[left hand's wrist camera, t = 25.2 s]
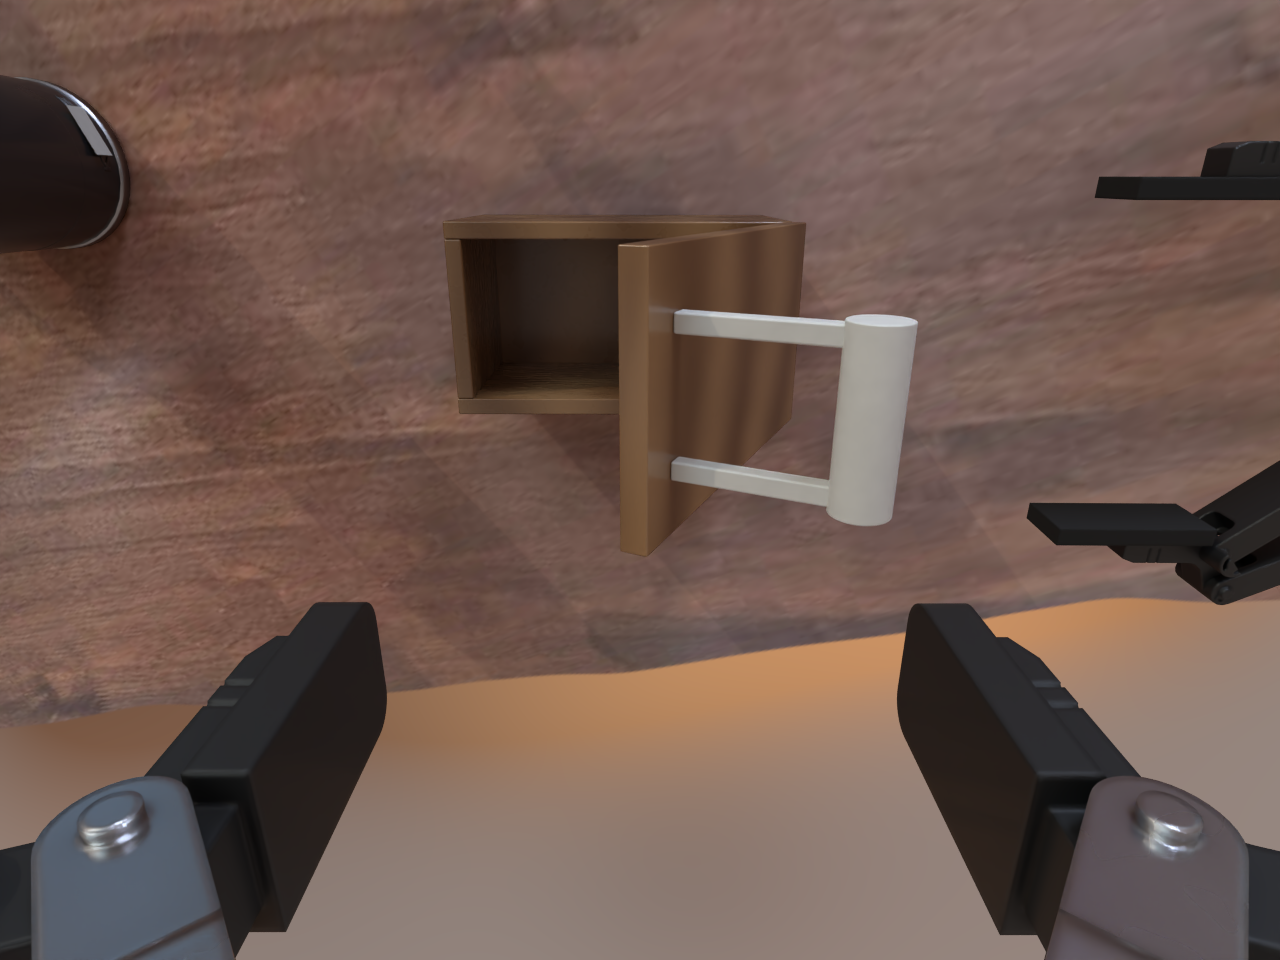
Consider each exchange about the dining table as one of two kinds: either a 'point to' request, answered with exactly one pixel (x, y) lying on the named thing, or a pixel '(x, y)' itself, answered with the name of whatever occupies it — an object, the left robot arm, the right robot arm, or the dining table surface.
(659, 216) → the chest
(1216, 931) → the left robot arm
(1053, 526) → the right robot arm
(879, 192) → the dining table surface
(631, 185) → the dining table surface
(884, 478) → the lid
